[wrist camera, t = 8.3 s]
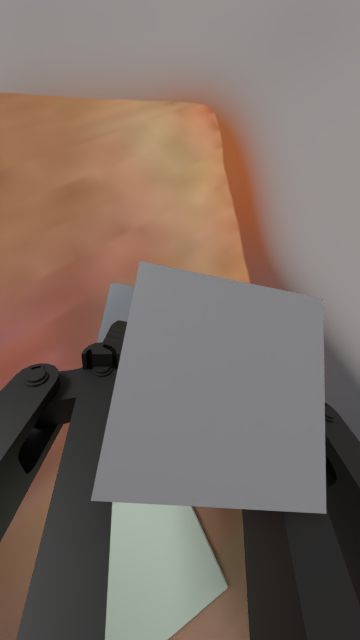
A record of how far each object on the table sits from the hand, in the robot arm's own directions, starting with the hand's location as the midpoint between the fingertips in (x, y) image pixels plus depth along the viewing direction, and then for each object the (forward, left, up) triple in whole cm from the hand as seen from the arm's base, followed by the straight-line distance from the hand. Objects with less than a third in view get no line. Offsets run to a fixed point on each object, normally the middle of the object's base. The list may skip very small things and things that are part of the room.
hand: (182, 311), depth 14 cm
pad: (+19, -12, -10) cm, 25 cm away
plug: (+3, -2, -5) cm, 6 cm away
